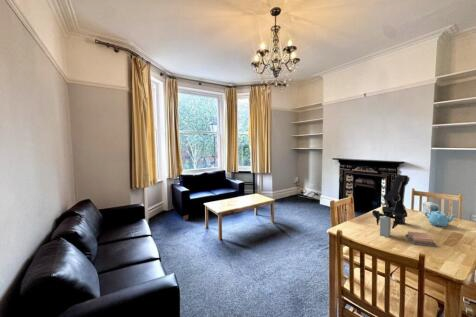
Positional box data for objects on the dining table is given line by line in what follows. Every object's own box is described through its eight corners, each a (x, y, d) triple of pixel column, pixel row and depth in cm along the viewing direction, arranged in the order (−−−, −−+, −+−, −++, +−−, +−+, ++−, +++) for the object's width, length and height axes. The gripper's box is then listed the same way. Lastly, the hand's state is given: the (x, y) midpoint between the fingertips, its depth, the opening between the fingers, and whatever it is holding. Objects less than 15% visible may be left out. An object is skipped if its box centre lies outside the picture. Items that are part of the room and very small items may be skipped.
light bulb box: (439, 217, 180) (439, 205, 180) (429, 217, 182) (430, 205, 181) (430, 213, 191) (430, 201, 190) (421, 213, 192) (422, 201, 191)
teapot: (423, 222, 172) (423, 209, 171) (440, 221, 172) (440, 208, 171) (438, 229, 159) (438, 215, 158) (456, 227, 159) (456, 213, 158)
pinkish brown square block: (405, 236, 148) (405, 230, 148) (426, 238, 144) (426, 232, 144) (413, 244, 137) (413, 238, 136) (436, 246, 133) (436, 240, 133)
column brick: (382, 233, 154) (382, 214, 153) (390, 235, 150) (390, 216, 149) (379, 235, 151) (380, 216, 150) (388, 237, 147) (388, 218, 146)
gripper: (373, 199, 159) (367, 217, 153) (403, 204, 144) (398, 224, 138) (376, 207, 164) (371, 224, 158) (406, 213, 150) (401, 232, 144)
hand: (384, 226), depth 149 cm, fingers open, 9 cm apart
